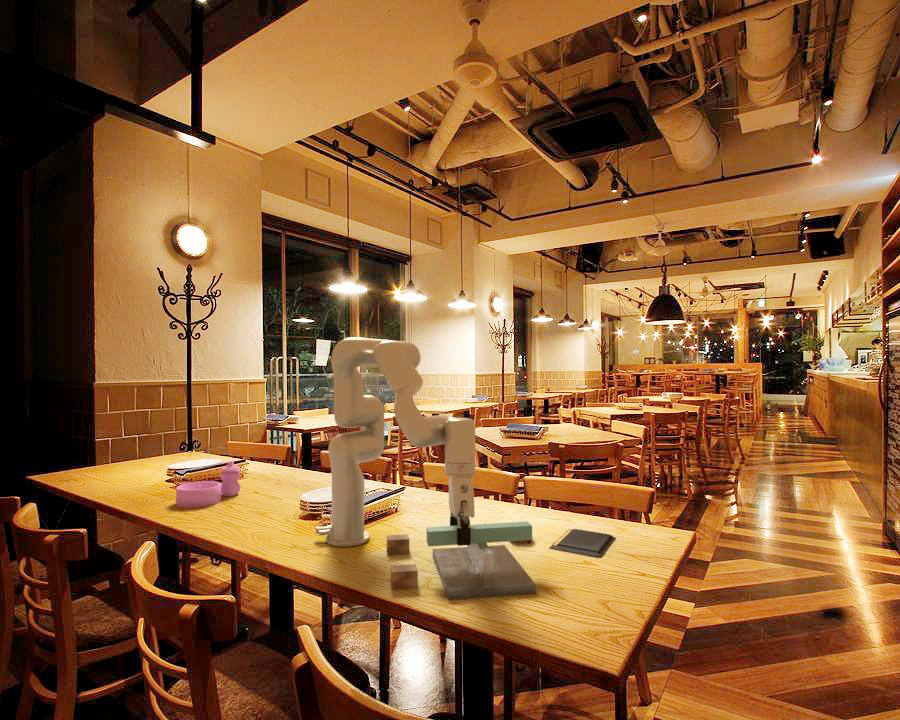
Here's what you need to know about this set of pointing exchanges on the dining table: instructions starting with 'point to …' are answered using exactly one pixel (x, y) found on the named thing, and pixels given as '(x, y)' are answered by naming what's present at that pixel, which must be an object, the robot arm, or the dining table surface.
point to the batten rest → (401, 573)
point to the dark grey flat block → (584, 543)
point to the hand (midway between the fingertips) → (459, 538)
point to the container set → (209, 489)
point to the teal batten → (481, 533)
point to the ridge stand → (481, 572)
